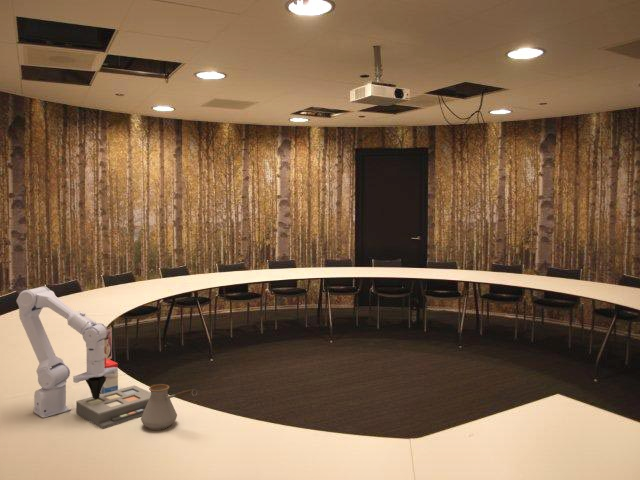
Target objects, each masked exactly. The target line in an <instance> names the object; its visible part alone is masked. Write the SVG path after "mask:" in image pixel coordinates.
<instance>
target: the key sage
mask: <svg viewBox="0 0 640 480" xmlns="http://www.w3.org/2000/svg"><path fill="white" fill-rule="evenodd" d="M100 402H103V401H101V400H99V399H97V400H94V401H90V402H88V403H90V404H91V405H93V404H97V403H100Z"/></svg>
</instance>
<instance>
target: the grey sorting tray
mask: <svg viewBox="0 0 640 480" xmlns="http://www.w3.org/2000/svg"><path fill="white" fill-rule="evenodd" d="M130 390H134V391H136V393H132V394H129V395H127V394H124V393H123V392H126V391H130ZM112 395H118V396H122V397H118V398H115V399H111V400H110V399H108V398H106V397H108V396H112ZM132 396H135V397H136V398H138V399H137V400H133V401H130V402H128V401H126V400H124V399H125V398H129V397H132ZM150 396H151V391H149V390H145V389H144V388H142V387H139V386H137V385H135V384H134V385H131V386H126V387H123V388H120V389H119V388H118V390H116V391H112V392H108V393H104V394H103V393H100V396H99V398H98V399H99V400H101V401H103V402H100V403H97V404H93V405H91V404H90V403H88V402H90V401H94V400H97V399H94V398H93V397H92V396H90V397H86V398H83V399H79V400H76V406H75V407H76V409H75V410H76V411H75V412H76V414H75V415H78V416H80V417H81V418H84V419H85V420H87V421H88V422H90V423H92V424H93V425H95V426H97V427H99V428H100V429H102V430H103V429H107V428H111V427H113V426H116V425H119V424H123V423H125V422H130V421H132V420H134V419H138V418H141V417H142V415H143V412H144V410H145V408H146V405H147V403H148V401H149V398H150ZM115 401H118V402H119V403H121V404H120V405H116V406H113V407H110V406H108V405H106V404H108V403H111V402H115ZM122 403H123V404H122Z"/></svg>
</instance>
